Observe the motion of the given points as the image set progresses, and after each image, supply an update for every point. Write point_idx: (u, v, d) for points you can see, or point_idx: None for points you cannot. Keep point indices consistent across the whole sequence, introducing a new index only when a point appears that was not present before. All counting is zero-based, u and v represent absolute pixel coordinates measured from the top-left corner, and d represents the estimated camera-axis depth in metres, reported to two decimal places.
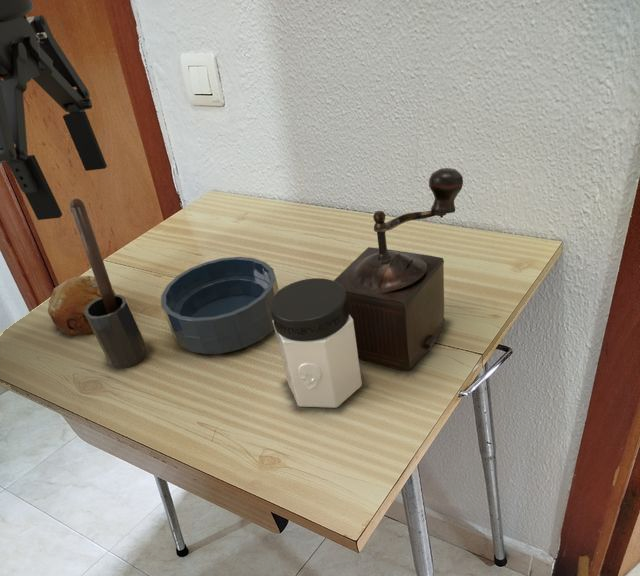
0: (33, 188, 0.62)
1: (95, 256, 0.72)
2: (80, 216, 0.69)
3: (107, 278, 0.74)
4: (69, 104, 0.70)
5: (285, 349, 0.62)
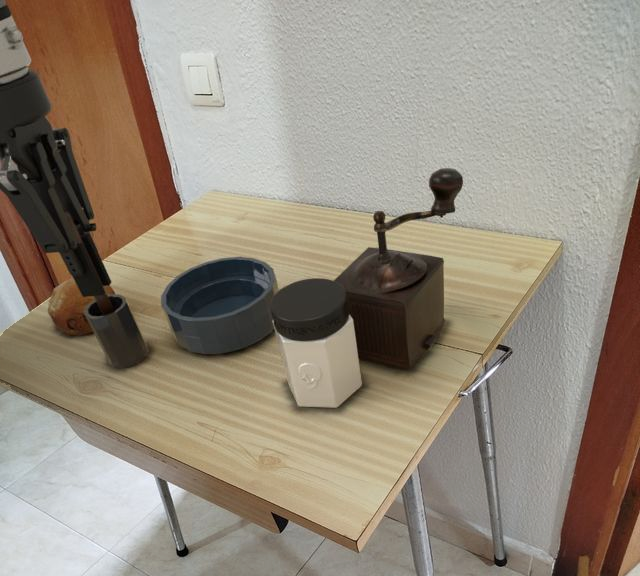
0: (81, 272, 0.68)
1: None
2: None
3: None
4: None
5: (285, 349, 0.62)
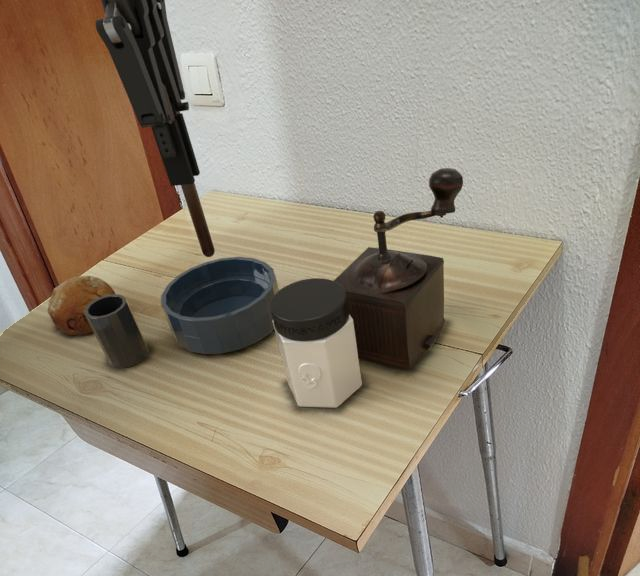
0: (174, 153, 0.63)
1: None
2: None
3: None
4: None
5: (285, 349, 0.62)
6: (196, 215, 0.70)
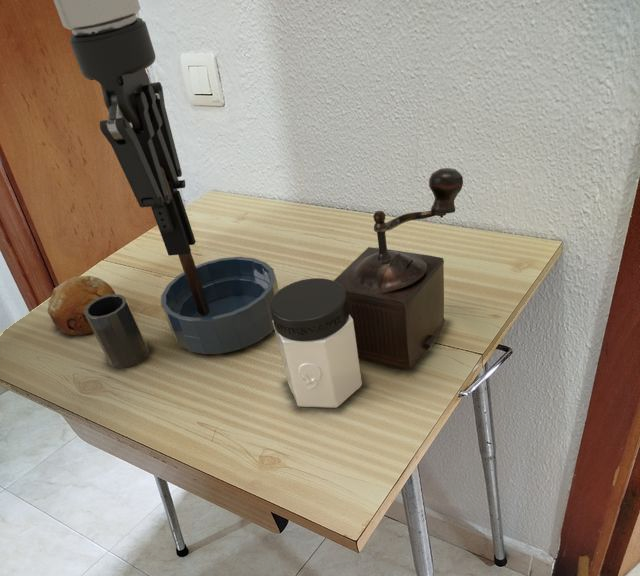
0: (171, 228, 0.68)
1: None
2: None
3: None
4: None
5: (285, 349, 0.62)
6: (192, 280, 0.75)
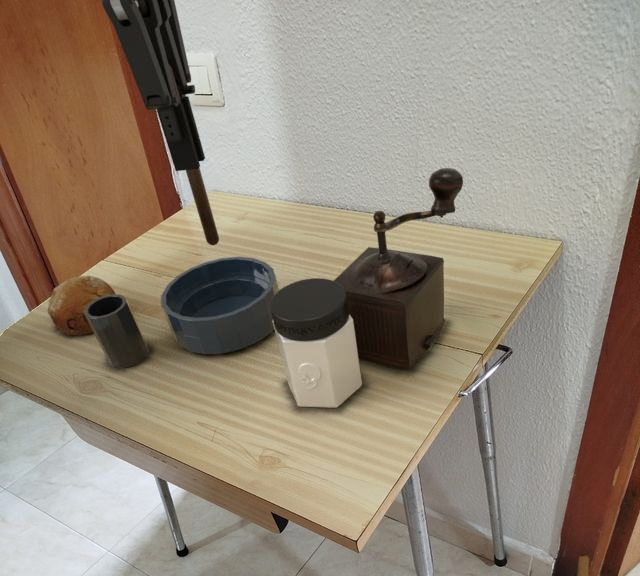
0: (179, 136, 0.62)
1: None
2: None
3: None
4: None
5: (285, 349, 0.62)
6: (201, 202, 0.69)
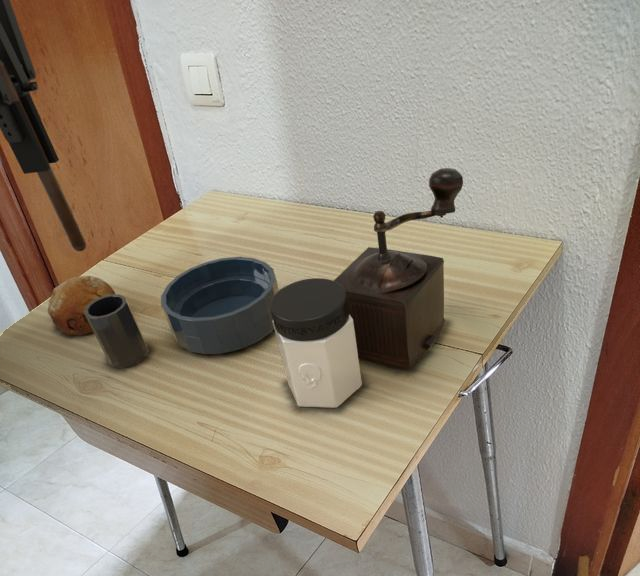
0: (18, 137, 0.58)
1: None
2: None
3: None
4: None
5: (285, 349, 0.62)
6: (58, 206, 0.65)
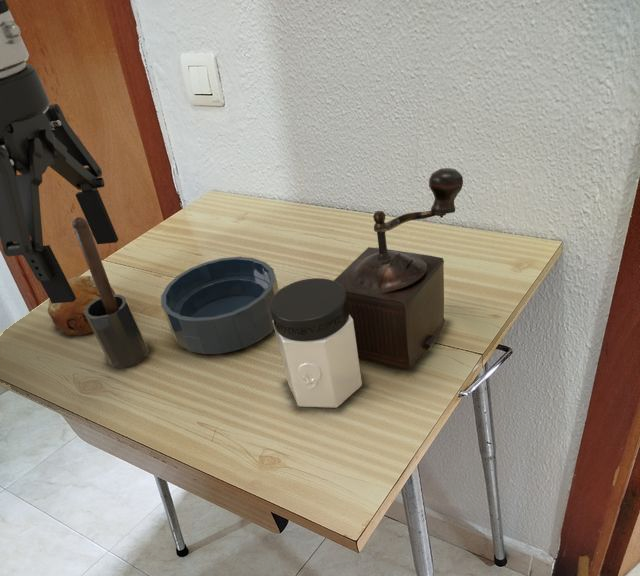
0: (48, 277, 0.63)
1: (98, 273, 0.69)
2: (84, 237, 0.65)
3: (110, 291, 0.72)
4: (82, 183, 0.71)
5: (285, 349, 0.62)
6: None
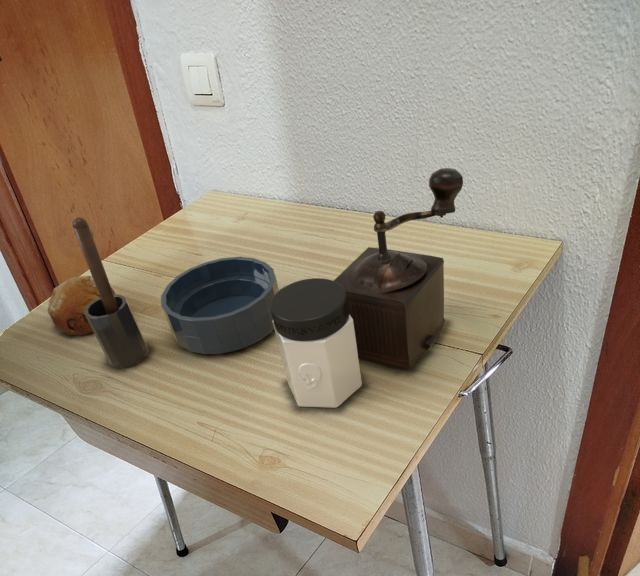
0: None
1: (98, 273, 0.69)
2: (84, 237, 0.65)
3: (110, 291, 0.72)
4: None
5: (285, 349, 0.62)
6: None
